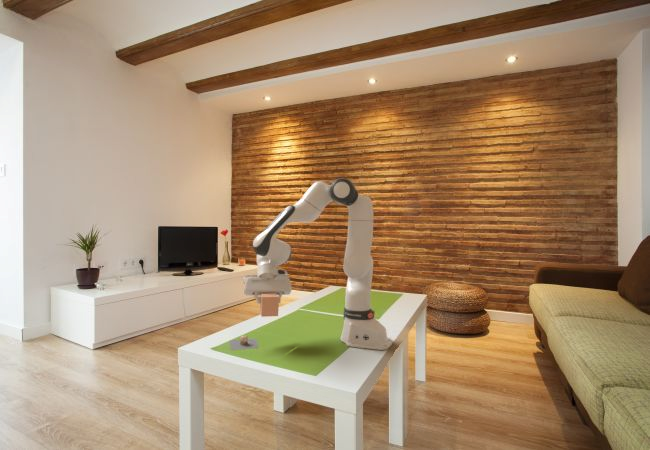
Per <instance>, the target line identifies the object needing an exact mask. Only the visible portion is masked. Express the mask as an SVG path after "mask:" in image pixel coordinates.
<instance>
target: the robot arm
mask: <svg viewBox="0 0 650 450" xmlns="http://www.w3.org/2000/svg"><path fill="white" fill-rule="evenodd" d="M331 202H333V203H336V204H338V205H345V206H346V207H347V209H348V210H347V211H348V215H347V216H348V220H347V237H346V238H347V240H346V245H345V250H344V251H345V252H344V259H343V265H342V268H343V272H344V274H345V275H346V276H347V280H346V281H347V282H346V287H345V298H344V299H345V300H344V303H345V304H344V308H343V326H342V332H341V336H340V341H341V342H343V343H344V344H345V345H346V346H347V347H352V348H360V349H370V350H380V351H384V350H387V349H389V348H390V347H391V346H392V344H393V340H392V338H391V337H388V334H387V328H386V327H385V326H384V325H383V324H382V323H381V322H380V321H378V320H377V318H375V312H376V310H373V309H372V308H371V292H372V283H373V282H372V281H373V272H374V259H373V256H372V255H371V253H372V246H373V245H372V244H373V238H374V205H373V201H372V198H370V197H369V196H367V195H365V194H364V195H363V194H359V193H358V191H357V188H356V186H355V184H354V183H353V182H352V181H351V180H350V179H348V178H345V177H340V178H337V179H335V180H333V182H332V183H331V184H328V183H326V182H324V181H320V180H318V181H314V183H313V184H311V186H310V187H309V188H308V189H307V190H306V191H305V192H304V194H303V195H302V196H301V197H300V199H299V200H298V201H297V202H295V203H294V204H292V205H291V204H290V205H287V207H285V208H284V209H283V210H282V211H280V213H279V214H278V215H277V216H276V217H275V218H274V219H273V220H272V221H271V222H270V223H269V224H268V225H267V226H266V227H265V228H264V229H263V230H262V231H261V232H259V233H258V234H257V235H256V236H255V237H254V238H253V241H252V249H253V252H254V253H255V255H256V266H257V268H256V274H255V275H253V274H252V275H248V274H247V276H244V277H243V284H244V295H245V296H253V298H255V300H256V304H257V305H260V304H261V297H259V296H261V293H277V295H278V296H279V304H281V300H282V297H283V295H287V296H289V295H290V294H291V293H292V289H293V287H292V283H291V279H290V277H288V271H287V270H283V269H280V268H277V267H280V266H282V265H283V264H285V263H287V262H288V261H289V260H290V259H291V257H292V253H293V251H292V247H291V244H288V243H287V242H286V241H283V240H281V239H279V238H277V237H276V236H277V235H278V234H279V233H280V231H282V229H284V227H285V226H287V225H288V224H291V223H305V224H307V223H313V222H315V220H317V219H318V218H319V217H320V215H321V214H322V212H323V211H324V209H325V208H326V206H327V205H328V204H329V203H331Z"/></svg>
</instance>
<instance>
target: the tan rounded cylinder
mask: <svg viewBox="0 0 650 450" xmlns="http://www.w3.org/2000/svg"><path fill="white" fill-rule="evenodd" d="M248 339H249V337H248V335H241V336H240V337H239V340H240V345H247V344H248Z"/></svg>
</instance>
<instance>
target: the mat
mask: <svg viewBox="0 0 650 450" xmlns="http://www.w3.org/2000/svg"><path fill="white" fill-rule="evenodd" d="M258 344H259V343H258V340H257V338H248V344H247V345H240V339H232V340H231V339H230V340H229V349H230V351H235V350H237V351H238V350H239V351H240V350H250V349H259V348H260V347H259V345H258Z"/></svg>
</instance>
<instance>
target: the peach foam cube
mask: <svg viewBox="0 0 650 450" xmlns="http://www.w3.org/2000/svg"><path fill="white" fill-rule="evenodd" d="M260 298H261V304H259V312H260V313H259V314H260V316H261V317H264V318H265V317H278V316H279V305H280V303H279V295H277V293H261V295H260Z"/></svg>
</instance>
